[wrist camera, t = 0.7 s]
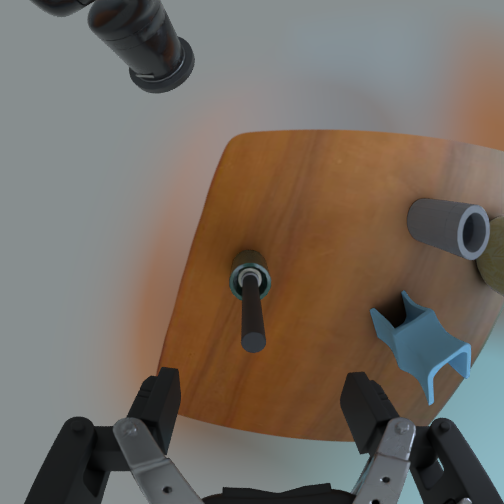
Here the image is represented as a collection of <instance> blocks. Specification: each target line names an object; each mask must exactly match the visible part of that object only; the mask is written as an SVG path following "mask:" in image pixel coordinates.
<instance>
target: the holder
mask: <svg viewBox="0 0 504 504" xmlns="http://www.w3.org/2000/svg"><path fill="white" fill-rule="evenodd" d="M245 267H256V268H258V269H260V271H261V276H262V282H261V284H260V286H259V294H260V300H261V299H262V298H264V297H265V296H266V295H267V294H268V292H269V290H270V288H271V277H270V274H269V270H268V267H267V263H266V261H265V258H264V257H263V256H262V255H261V254H260V253H259V252H257V251H254V250H244V251H242V252H240V253H239V254H237V255H236V257H235V258H234V260H233V263H232V267H231V273H230V279H229V286H230V289H231V291H232V293H233V295H235V296H236V297H237V298H238V299H239V300H242V287H241V286H240V284H239V282H238V275H239V270H240V269H242V268H245Z"/></svg>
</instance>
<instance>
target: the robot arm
mask: <svg viewBox="0 0 504 504" xmlns="http://www.w3.org/2000/svg"><path fill="white" fill-rule="evenodd" d="M30 1H31V2H32V3H34V4H35V5H36V6H38V7H39V8H40V9H42V10H43V11H45V12H47V13H49V14H51V15H53V16H57V17H66V16H69V15H71V14H73V13H75V12H77V11H79V10H81V9H82V8H84V7H86V6H87V5H89V4H90V3H92V2H94V1H95V2H94V4H93V5H92V7H91V9H90V11H89V14H88V25H89V28H90V29H91V30H92V32H94V33H95V34H96V35H97V36H98V37H99V38H100V39H101V40H102V41H103V42H104V43H105V44H106V45H107V46H109V47H110V48H111V49H112V50H113V51H114V52H115V53H116V54H117V55H118V56H119V57H120V58H121V59H122V60H123V61H124V62H125V63H126V64H127V65H128V66H129V67H130V68H131V69H132V70H133V71H134V72H135V73H136V76H137V77H139V78H140V79H141V80H143V81H145V82H148V83H159V82H163V81H166V80H168V79H170V78H172V77H173V76H174V75H176V74H177V73H178V72H179V71H180V69H181V68H182V66H183V64H184V62H185V51H184V48H183V46H182V45H181V43H180V41H179V39H178V37H177V34H176V32H175V30H174V28H173V26H172V24H171V22H170V19H169V17H168V15H167V13H166V11H165V9H164V7H163V5H162V3H161V1H160V0H30ZM180 401H181V391H180V381H179V371H178V369H175V368H167V367H162V368H161V370H160V372H159V374H158V377H157V376H150V377H148V378H147V379H146V380H145V381H144V382H143V383H142V385H141V387H140V390H139V392H138V394H137V396H136V398H135V400H134V402H133V404H132V406H131V409H130V411H129V413H128V415H127V417H126V418H123V419H121V420H119V421H117V422H116V423H115V425H114V426H108V427H107V426H105V427H104V426H94V425H93V423H92V422H91V421H90V420H89V419H87V418H84V417H73V418H70V419H68V420H67V421H66V422H65V423H64V425H63V427H62V429H61V430H60V433H59V434H58V436H57V438H56V440H55V441H54V443H53V446H52V447H51V449H50V451H49V453H48V455H47V457H46V459H45V461H44V463H43V465H42V467H41V469H40V471H39V473H38V475H37V477H36V479H35V481H34V483H33V485H32V487H31V489H30V492H29V494H28V496H27V498H26V501H25V503H24V504H101V501H102V498H103V495H104V491H105V488H106V485H107V481H108V478H109V475H110V472H111V471H131V473H132V475H133V477H134V479H135V481H136V482H137V484H138V486H139V488H140V490H141V491H142V493H143V495H144V496H145V498H146V500H147V501H148V503H149V504H397V501H398V499H399V496H400V493H401V491H402V488H403V485H404V482H405V479H406V476H407V473H408V470H409V469H410V472H411V474H412V476H413V479H414V481H415V483H416V485H417V488H418V490H419V493H420V495H421V498H422V500H423V503H424V504H504V503H503V501H502V499H501V497H500V496H499V494H498V492H497V490H496V488H495V487H494V485H493V483H492V482H491V480H490V478H489V476H488V475H487V473H486V472H485V470H484V468H483V467H482V465H481V463H480V462H479V460H478V458H477V457H476V455H475V454H474V452H473V451H472V449H471V448H470V446H469V444H468V443H467V441H466V440H465V438H464V437H463V435H462V434H461V432H460V431H459V429H458V428H457V426H456V425H455V424H454V422H452V421H451V420H449V419H446V418H438V419H435V420H434V421H433V422H432V424H431V426H415V425H414V423H413V422H412V421H410V420H409V419H407V418H403V417H400V416H399V415H398V413H397V411H396V410H395V408H394V407H393V405H392V403H391V402H390V400H389V399H388V397H387V395H386V394H385V392H384V391H383V389H382V388H381V386H380V385H379V384H377V383H376V382H375V381H373V380H371V381H370V380H369V379H368V377H367V376H366V374H365V372H353V373H348V375H347V377H346V381H345V384H344V387H343V391H342V394H341V398H340V405H341V409H342V411H343V413H344V416H345V418H346V421H347V423H348V426H349V428H350V431H351V433H352V436H353V438H354V440H355V443H356V445H357V448H358V451H359V453H360V454H365V453H369V455H370V457H369V459H368V461H367V463H366V465H365V467H364V469H363V471H362V473H361V475H360V477H359V479H358V481H357V483H356V485H355V486H354V488H353V490H352V491H351V493H349V492H346V491H342V490H335V489H331V485H330V483H325V484H318V485H309V486H303V487H300V488H296V489H293V490H289V491H285V492H282V493H273V492H268V491H262V490H256V489H251V488H228V487H223V493H221V494H215V495H211V496H207V497H205V498H203V499H200V497H199V496H198V495H197V494H196V492H195V491H194V490H193V489H192V488H191V486H190V485H189V483H188V482H187V481H186V480H185V478H184V477H183V476H182V474H181V473H180V472H179V470H178V469H177V467H176V466H175V465H174V463H173V462H172V461H171V459H170V458H166V457H165V455H167V451H168V448H169V444H170V440H171V436H172V432H173V429H174V425H175V421H176V417H177V414H178V410H179V406H180ZM438 458H439V459H440V461H441V463H442V465H443V468H444V471H443V470H442V468H441V466H440V464H439V462H438V460H437V459H438Z"/></svg>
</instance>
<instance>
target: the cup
mask: <svg viewBox="0 0 504 504" xmlns="http://www.w3.org/2000/svg"><path fill="white" fill-rule="evenodd" d="M407 226H408V230H409V232H410V234H411V235H412V237H413V238H414V239H416V240H418V241H420V242H423V243H425V244H428V245H431V246H434V247H436V248H439V249H442V250H444V251H447V252H450V253H452V254H455V255H458V256H460V257H463V258H465V259H468V260H474V259H477V258H478V257H479V256H480V255H481V254H482V253H483V252H484V250H485V248H486V246H487V243H488V240H489V235H490V224H489V219H488V216H487V214H486V211H485V210H484V209H483V208H482V207H481V206H478V205H474V204H467V203H460V202H453V201H445V200H436V199H425V198H423V199H419V200H417V201H415V202H414V203H413V204H412V206H411V207H410V209H409V212H408V216H407Z"/></svg>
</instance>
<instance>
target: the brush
mask: <svg viewBox="0 0 504 504" xmlns="http://www.w3.org/2000/svg"><path fill="white" fill-rule="evenodd" d="M238 282H239V284H240V286H241V287H242V331H241V344H242V347H243V348H244V349H245V350H246V351H248V352H251V353H256V352H259V351H261V350H262V349H263V348H264V347H265V345H266V337H265V330H264V323H263V315H262V308H261V301H260V294H259V286H260V284H261V282H262V276H261V271H260V269H258V268H256V267H245V268H242V269H240V270H239V275H238Z"/></svg>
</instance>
